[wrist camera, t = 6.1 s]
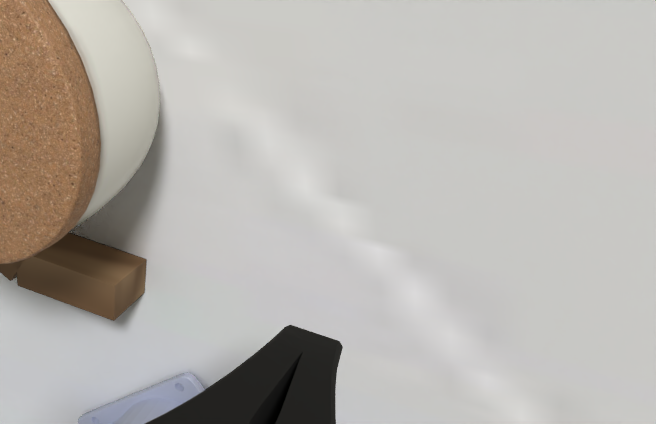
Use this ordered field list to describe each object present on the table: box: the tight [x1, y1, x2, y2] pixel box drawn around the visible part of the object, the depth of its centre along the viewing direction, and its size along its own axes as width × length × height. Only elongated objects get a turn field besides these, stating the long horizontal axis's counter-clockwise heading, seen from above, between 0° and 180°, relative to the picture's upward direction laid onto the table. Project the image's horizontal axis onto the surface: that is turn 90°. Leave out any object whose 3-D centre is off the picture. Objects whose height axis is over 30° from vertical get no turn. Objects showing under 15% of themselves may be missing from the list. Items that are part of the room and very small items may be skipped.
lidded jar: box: [0, 0, 160, 264], centre depth 19 cm, size 11×11×9 cm
